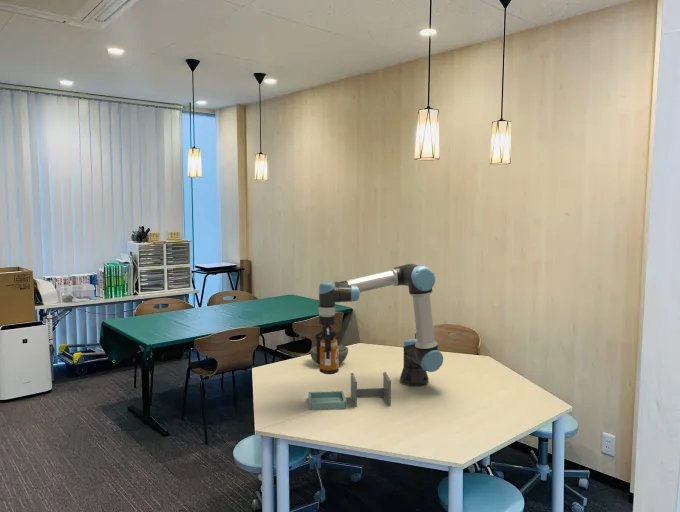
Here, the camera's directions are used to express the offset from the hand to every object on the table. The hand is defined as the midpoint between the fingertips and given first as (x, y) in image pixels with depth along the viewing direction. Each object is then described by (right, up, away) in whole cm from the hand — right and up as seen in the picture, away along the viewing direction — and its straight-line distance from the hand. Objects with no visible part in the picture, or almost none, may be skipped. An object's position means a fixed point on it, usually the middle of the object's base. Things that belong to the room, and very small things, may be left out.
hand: (326, 362), depth 251 cm
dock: (+21, -20, +4) cm, 29 cm away
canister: (0, -5, +1) cm, 5 cm away
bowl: (0, -15, +65) cm, 66 cm away
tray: (0, -20, +2) cm, 20 cm away
